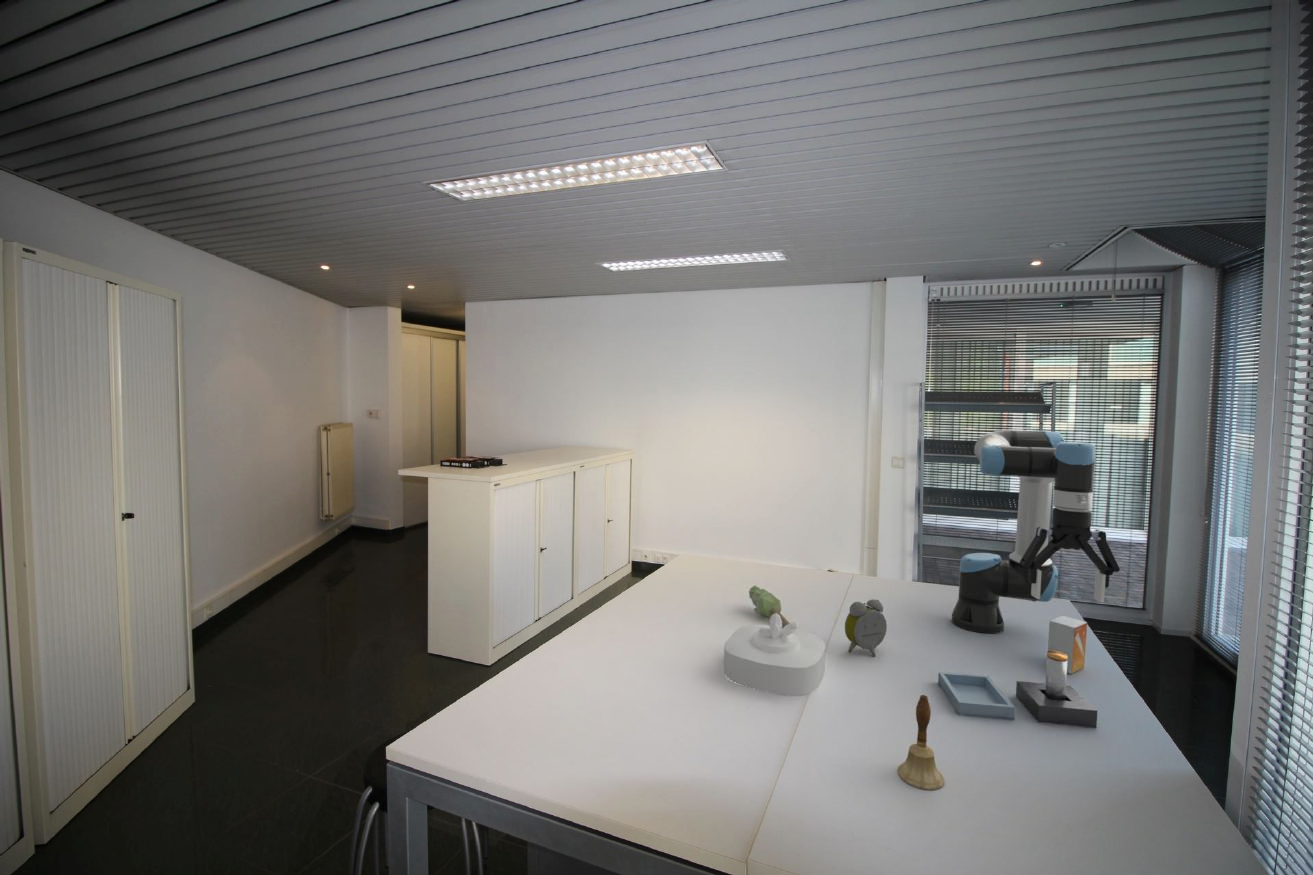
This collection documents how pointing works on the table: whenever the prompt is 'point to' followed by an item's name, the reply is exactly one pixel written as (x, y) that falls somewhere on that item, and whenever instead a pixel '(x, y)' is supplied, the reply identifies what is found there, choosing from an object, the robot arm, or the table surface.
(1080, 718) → the block
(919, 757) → the hand bell
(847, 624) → the alarm clock
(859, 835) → the table surface
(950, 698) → the tray
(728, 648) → the tissue box
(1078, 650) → the small box
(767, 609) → the decorative object
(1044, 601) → the robot arm
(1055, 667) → the steel pin
